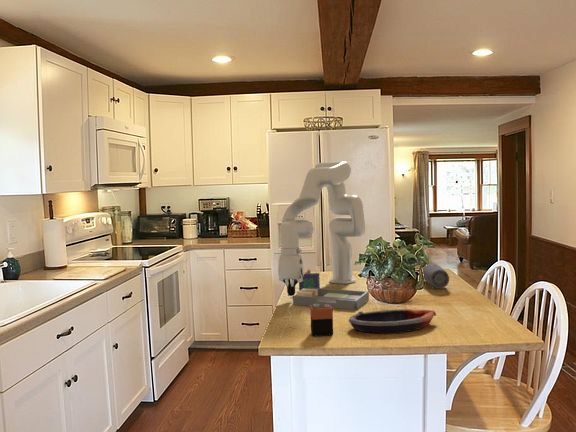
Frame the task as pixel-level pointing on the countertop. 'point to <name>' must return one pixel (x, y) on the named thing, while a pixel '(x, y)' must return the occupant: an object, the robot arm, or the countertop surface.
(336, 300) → the board
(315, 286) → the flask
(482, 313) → the countertop surface
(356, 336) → the countertop surface
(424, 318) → the dish
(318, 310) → the battery
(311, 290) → the beech block
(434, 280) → the bluetooth speaker
